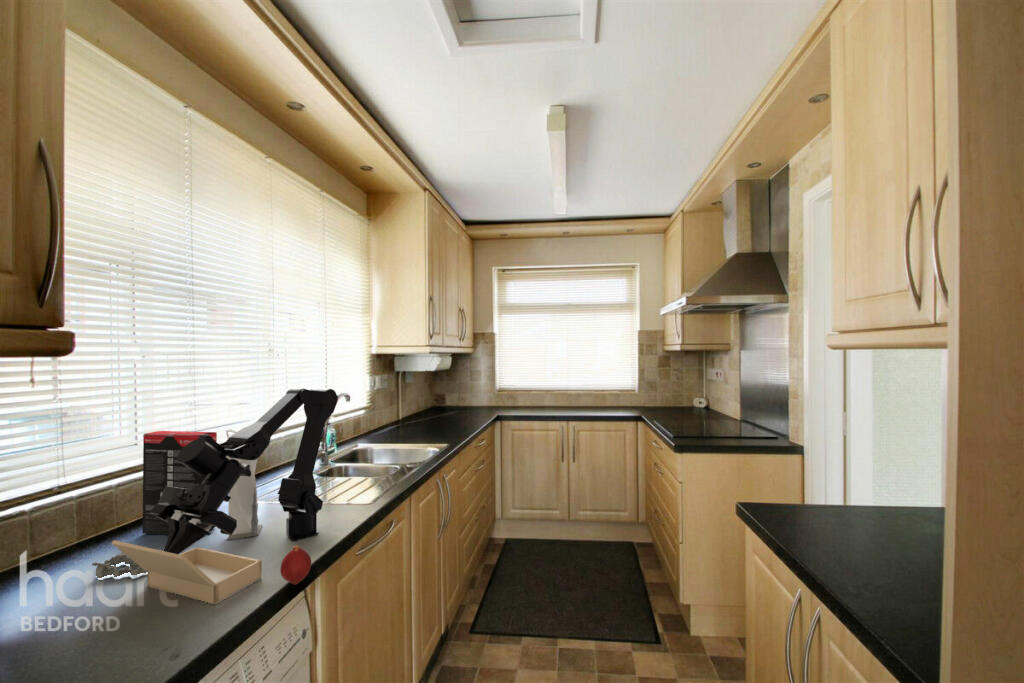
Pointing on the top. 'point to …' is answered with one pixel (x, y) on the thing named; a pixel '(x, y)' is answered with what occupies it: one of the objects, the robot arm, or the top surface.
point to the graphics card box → (165, 472)
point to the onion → (295, 565)
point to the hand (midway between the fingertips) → (163, 561)
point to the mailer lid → (164, 563)
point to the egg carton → (109, 570)
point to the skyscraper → (244, 503)
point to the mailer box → (211, 575)
